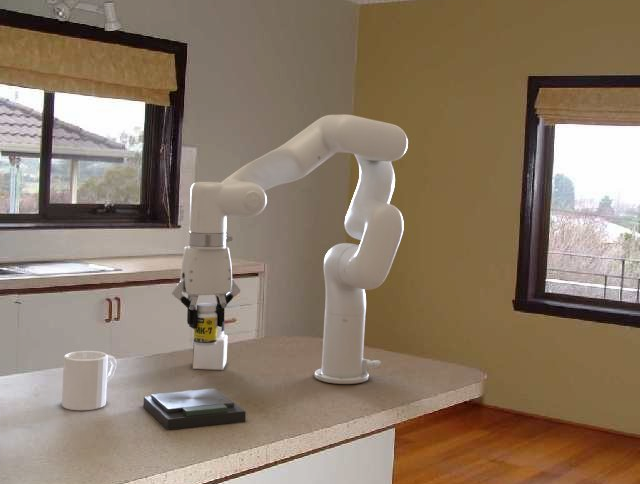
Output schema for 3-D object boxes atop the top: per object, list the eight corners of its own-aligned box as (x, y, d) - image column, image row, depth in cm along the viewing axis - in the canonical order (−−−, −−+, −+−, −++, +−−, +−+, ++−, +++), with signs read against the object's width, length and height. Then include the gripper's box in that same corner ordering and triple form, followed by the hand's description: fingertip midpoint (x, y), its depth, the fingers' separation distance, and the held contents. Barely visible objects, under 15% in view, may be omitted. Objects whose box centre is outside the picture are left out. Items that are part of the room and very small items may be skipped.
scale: (216, 399, 181) (216, 385, 181) (245, 421, 168) (246, 406, 168) (143, 406, 173) (144, 391, 173) (167, 430, 160) (168, 413, 160)
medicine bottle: (196, 362, 213) (198, 313, 212) (226, 363, 213) (228, 314, 213) (192, 369, 206) (194, 318, 205) (222, 370, 206) (225, 319, 206)
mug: (129, 400, 177) (131, 351, 177) (82, 413, 167) (84, 362, 166) (100, 393, 181) (103, 345, 181) (52, 405, 171) (55, 355, 170)
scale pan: (214, 392, 180) (214, 388, 179) (234, 406, 170) (234, 402, 170) (151, 398, 173) (151, 394, 173) (167, 413, 163) (168, 408, 163)
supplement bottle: (191, 345, 183) (192, 305, 183) (196, 340, 188) (197, 301, 187) (214, 346, 183) (215, 306, 183) (218, 341, 188) (219, 302, 188)
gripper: (239, 238, 192) (237, 320, 193) (162, 239, 183) (160, 326, 184) (252, 241, 186) (250, 327, 187) (173, 243, 177) (171, 333, 178)
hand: (205, 325), depth 185 cm, fingers closed on supplement bottle, 4 cm apart
